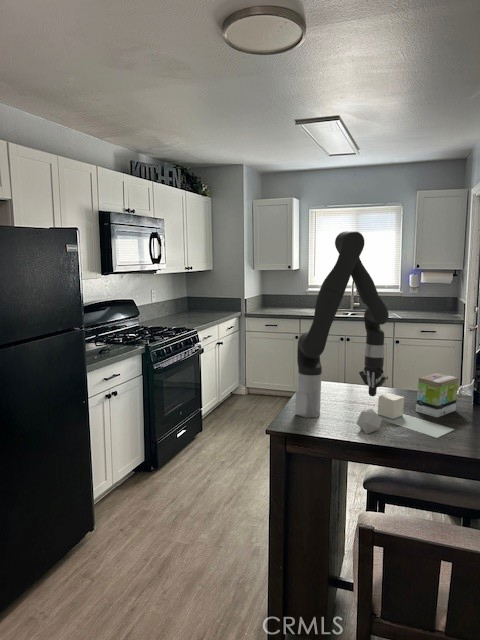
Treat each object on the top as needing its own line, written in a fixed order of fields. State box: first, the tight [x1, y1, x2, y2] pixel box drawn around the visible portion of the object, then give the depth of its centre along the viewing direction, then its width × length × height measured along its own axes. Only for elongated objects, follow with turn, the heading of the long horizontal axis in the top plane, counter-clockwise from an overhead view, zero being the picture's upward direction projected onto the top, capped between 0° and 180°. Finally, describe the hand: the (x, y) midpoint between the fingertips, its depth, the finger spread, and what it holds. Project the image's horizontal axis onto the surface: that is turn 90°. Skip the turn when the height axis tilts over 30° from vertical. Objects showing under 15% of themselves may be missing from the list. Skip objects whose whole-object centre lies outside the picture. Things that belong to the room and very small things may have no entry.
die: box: [356, 408, 383, 435], centre depth 170 cm, size 8×9×10 cm
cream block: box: [377, 392, 405, 420], centre depth 185 cm, size 7×7×8 cm
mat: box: [376, 412, 456, 439], centre depth 179 cm, size 13×28×1 cm, turn 39°
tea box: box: [415, 372, 460, 418], centre depth 192 cm, size 15×10×15 cm
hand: (372, 395), depth 192 cm, fingers closed
